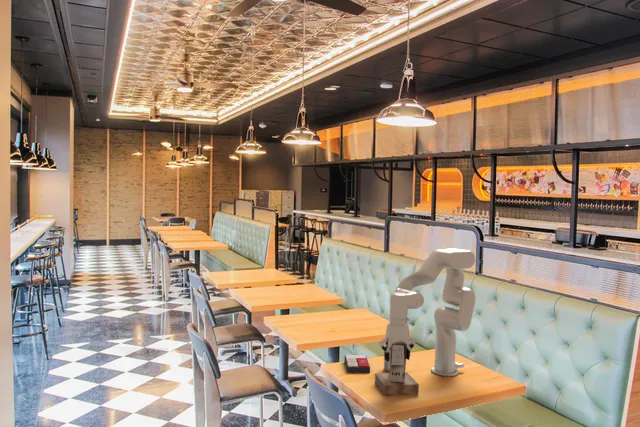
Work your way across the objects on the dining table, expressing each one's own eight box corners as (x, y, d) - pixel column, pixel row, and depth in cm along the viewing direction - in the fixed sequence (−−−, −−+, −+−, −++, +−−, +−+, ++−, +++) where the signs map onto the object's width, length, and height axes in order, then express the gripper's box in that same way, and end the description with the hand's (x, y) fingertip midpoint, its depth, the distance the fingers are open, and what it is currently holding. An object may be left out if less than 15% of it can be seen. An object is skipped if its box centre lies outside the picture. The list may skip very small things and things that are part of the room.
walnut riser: (406, 383, 220) (406, 372, 220) (418, 395, 206) (418, 384, 206) (374, 384, 217) (375, 373, 217) (384, 397, 204) (385, 385, 203)
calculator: (347, 365, 230) (344, 353, 244) (347, 374, 230) (344, 361, 245) (370, 366, 230) (366, 354, 245) (370, 374, 230) (365, 362, 245)
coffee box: (405, 382, 207) (407, 345, 207) (390, 381, 208) (392, 344, 207) (403, 375, 216) (405, 339, 216) (388, 374, 217) (391, 338, 216)
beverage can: (394, 365, 242) (395, 341, 241) (406, 370, 234) (406, 346, 234) (380, 368, 237) (380, 343, 236) (391, 373, 230) (392, 348, 229)
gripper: (412, 317, 217) (410, 355, 218) (376, 320, 212) (375, 358, 213) (420, 322, 210) (418, 361, 210) (383, 324, 205) (382, 364, 205)
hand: (397, 359), depth 211 cm, fingers open, 9 cm apart
